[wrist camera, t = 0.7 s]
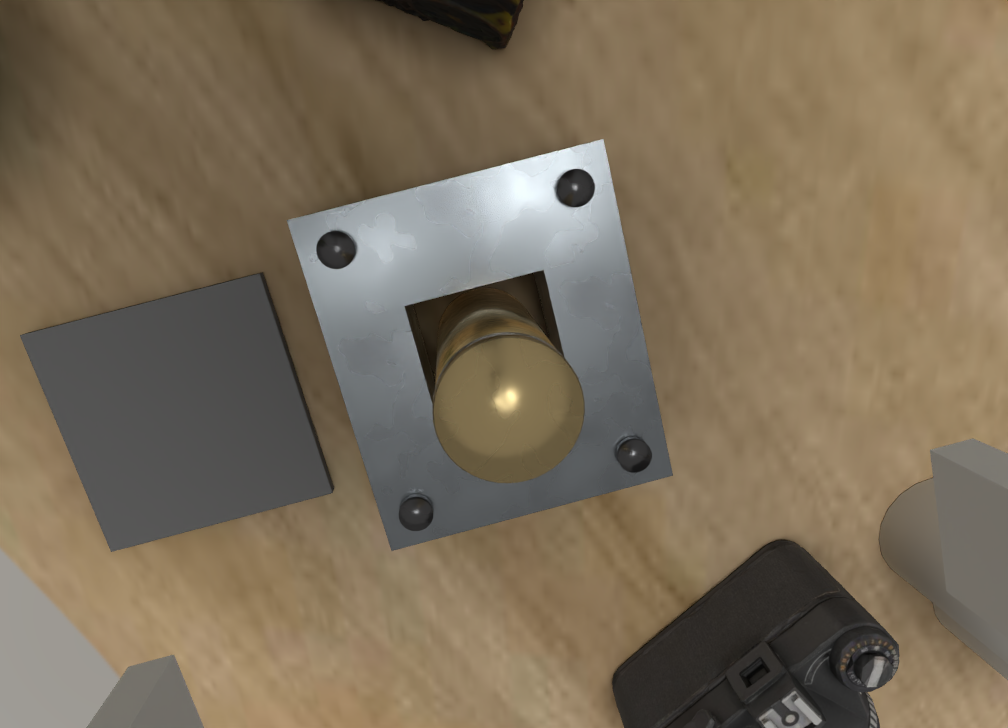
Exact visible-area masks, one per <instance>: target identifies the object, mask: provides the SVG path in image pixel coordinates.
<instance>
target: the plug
mask: <svg viewBox="0 0 1008 728" xmlns="http://www.w3.org/2000/svg"><path fill="white" fill-rule="evenodd" d="M432 413H433V424H434V428H435V432H436V435H437V438H438V440H439V442H440V444H441V446H442V448H443V450H444V451H445V452H446V454H447V455H448V457H449V458H450V459H451V460H452V461H453V462H454V463H455V464H456V465H458V466H459V467H460V468H461V469H462V470H464V471H466V472H467V473H469V474H471V475H473V476H475V477H477V478H479V479H483V480H486V481H490V482H496V483H518V482H523V481H528V480H531V479H534V478H537V477H539V476H541V475H543V474H545V473H547V472H548V471H550V470H551V469H553V468H554V467H556V466H557V465H558V464H559V463H560V462H561V461H562V460H563V459H564V458H565V457H566V456H567V455H568V454H569V452H570V451H571V450H572V448H573V447H574V445H575V443H576V441H577V440H578V437H579V435H580V432H581V430H582V426H583V421H584V414H585V401H584V395H583V390H582V387H581V384H580V381H579V379H578V377H577V375H576V373H575V372H574V370H573V368H572V367H571V365H570V364H569V363H568V362H567V360H566V359H565V358H564V357H563V356H562V354H561V353H560V352H558V351H557V350H556V348H555V347H554V346H553V344H552V343H551V342H550V340H549V339H548V338H547V336H546V335H545V334H544V332H543V331H542V330H541V329H540V327H539V326H538V325H537V323H536V322H535V321H534V319H533V318H532V317H531V315H530V314H529V313H528V311H527V310H526V309H525V308H524V306H523V305H522V304H521V303H520V302H519V301H518V300H517V299H516V298H514V297H513V296H512V295H510V294H508V293H506V292H504V291H501V290H497V289H492V288H480V289H475V290H471V291H468V292H466V293H464V294H462V295H460V296H459V297H457V298H456V299H455V300H454V301H453V302H452V303H451V304H450V305H449V306H448V307H447V309H446V310H445V312H444V313H443V315H442V317H441V320H440V323H439V328H438V342H437V362H436V381H435V391H434V395H433V411H432Z"/></svg>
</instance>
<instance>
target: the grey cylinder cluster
mask: <svg viewBox="0 0 1008 728" xmlns="http://www.w3.org/2000/svg"><path fill="white" fill-rule="evenodd" d="M879 543H880V548H881V553H882V556H883V558H884V559H885V561H886V562H887V564H888V566H889V567H890V568H891V569H892V570H894V571H895V572H896V573H897V574H898V575H900V576H901V577H902V578H903V579H905V580H906V581H907V582H908V583H909V584H911V585H912V586H913V587H914V588H916V589H917V590H918V591H919V592H920V593H922V594H923V595H924V596H925V597H927V598H928V599H929V600H930V601H931V602H933V607H934V611H935V614H936V616H937V618H938V619H939V621H940V622H941V624H942V625H943V626H944V627H946V628H947V629H948V630H949V631H950V632H952V633H953V634H954V635H955V636H956V637H957V638H959V639H960V640H961V641H962V642H963V643H964V644H966V645H967V646H968V647H969V648H970V649H972V650H973V651H974V652H975V653H976V654H977V655H979V656H980V657H981V658H982V659H983V660H985V661H986V662H987V663H988V664H989V665H990V666H992V667H993V668H994V669H995V670H996V671H997V672H999V673H1000V674H1001V675H1002V676H1003V677H1005V678H1006V679H1007V680H1008V638H1007V637H1005V636H1004V635H1003V634H1001V633H1000V632H999V631H997V630H996V629H995V628H994V627H992V626H991V625H990V624H988V623H987V622H986V621H984V620H983V619H982V618H980V617H979V616H978V615H977V614H975V613H974V612H973V611H971V610H970V609H969V608H967V607H966V606H965V605H964V604H962V603H961V602H960V601H958V600H957V599H956V598H954V597H953V596H952V595H951V594H949V593H948V592H947V591H946V582H945V574H944V565H943V557H942V548H941V539H940V531H939V522H938V514H937V505H936V496H935V488H934V479H933V478H931V479H929V480H926V481H923V482H920V483H917V484H915V485H914V486H912V487H911V488H909V489H908V490H906V491H905V492H903V493H902V494H900V496H899V497H898V498H897V499H896V500H895V501H894V503H893V504H892V505H891V506H890V507H889V509H888V511H887V513H886V515H885V517H884V519H883V521H882V523H881V529H880V536H879Z"/></svg>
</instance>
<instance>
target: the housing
mask: <svg viewBox="0 0 1008 728" xmlns="http://www.w3.org/2000/svg"><path fill="white" fill-rule="evenodd" d="M287 222H288V225H289V229H290V232H291V235H292V238H293V241H294V244H295V248H296V251H297V254H298V257H299V260H300V263H301V266H302V270H303V273H304V276H305V279H306V282H307V285H308V289H309V292H310V295H311V298H312V301H313V304H314V307H315V311H316V314H317V317H318V320H319V323H320V326H321V330H322V333H323V336H324V339H325V342H326V345H327V348H328V352H329V355H330V358H331V361H332V364H333V367H334V371H335V374H336V377H337V380H338V383H339V386H340V389H341V393H342V396H343V399H344V402H345V405H346V408H347V412H348V415H349V418H350V421H351V424H352V427H353V430H354V434H355V437H356V440H357V443H358V446H359V449H360V453H361V456H362V459H363V462H364V465H365V468H366V471H367V475H368V478H369V481H370V484H371V487H372V490H373V494H374V497H375V500H376V503H377V506H378V509H379V512H380V516H381V519H382V522H383V525H384V528H385V531H386V535H387V538H388V541H389V544H390V547H391V550H392V551H393V550H397V549H400V548H404V547H408V546H412V545H415V544H419V543H423V542H427V541H430V540H434V539H438V538H441V537H445V536H449V535H453V534H456V533H460V532H464V531H468V530H471V529H475V528H479V527H482V526H486V525H490V524H494V523H497V522H501V521H505V520H509V519H512V518H516V517H520V516H524V515H527V514H531V513H535V512H538V511H542V510H546V509H550V508H553V507H557V506H561V505H565V504H568V503H572V502H576V501H579V500H583V499H587V498H591V497H594V496H598V495H602V494H606V493H609V492H613V491H617V490H620V489H624V488H628V487H632V486H635V485H639V484H643V483H647V482H650V481H654V480H658V479H661V478H665V477H669V476H673V474H672V469H671V464H670V459H669V454H668V449H667V444H666V440H665V435H664V430H663V425H662V420H661V415H660V411H659V406H658V401H657V396H656V391H655V386H654V382H653V377H652V372H651V367H650V362H649V357H648V352H647V348H646V343H645V338H644V333H643V328H642V323H641V319H640V314H639V309H638V304H637V299H636V294H635V290H634V285H633V280H632V275H631V270H630V265H629V260H628V256H627V251H626V246H625V241H624V236H623V231H622V227H621V222H620V217H619V212H618V207H617V202H616V198H615V193H614V188H613V183H612V178H611V173H610V168H609V164H608V159H607V154H606V149H605V144H604V139H602V140H598V141H594V142H590V143H586V144H583V145H579V146H575V147H571V148H567V149H563V150H559V151H555V152H551V153H547V154H544V155H540V156H536V157H532V158H528V159H524V160H520V161H516V162H512V163H508V164H505V165H501V166H497V167H493V168H489V169H485V170H481V171H477V172H473V173H469V174H466V175H462V176H458V177H454V178H450V179H446V180H442V181H438V182H434V183H430V184H427V185H423V186H419V187H415V188H411V189H407V190H403V191H399V192H395V193H392V194H388V195H384V196H380V197H376V198H372V199H368V200H364V201H360V202H356V203H353V204H349V205H345V206H341V207H337V208H333V209H329V210H325V211H321V212H317V213H314V214H310V215H306V216H302V217H298V218H294V219H290V220H287ZM529 273H534V277H535V281H536V285H537V289H538V294H539V298H540V302H541V306H542V310H543V315H544V319H545V323H546V327H547V331H548V335H549V340H550V342H551V343H552V344H553V346H554V347H555V348H556V350H557V351H558V352H560V353H561V354H562V356H563V357H564V358H565V359H566V360H567V362H568V363H569V364H570V365H571V367H572V368H573V370H574V372H575V373H576V375H577V377H578V379H579V381H580V384H581V387H582V390H583V395H584V401H585V414H584V421H583V426H582V430H581V432H580V435H579V437H578V440H577V441H576V443H575V445H574V447H573V448H572V450H571V451H570V452H569V454H568V455H567V456H566V457H565V458H564V459H563V460H562V461H561V462H560V463H559V464H558V465H557V466H556V467H554V468H553V469H551V470H550V471H548V472H547V473H545V474H543V475H541V476H539V477H537V478H534V479H531V480H528V481H523V482H518V483H496V482H490V481H486V480H483V479H479V478H477V477H475V476H473V475H471V474H469V473H467V472H466V471H464V470H462V469H461V468H460V467H459V466H458V465H456V464H455V463H454V462H453V461H452V460H451V459H450V458H449V457H448V455H447V454H446V452H445V451H444V450H443V448H442V446H441V444H440V442H439V440H438V438H437V435H436V432H435V428H434V424H433V413H432V411H433V395H434V391H435V380H434V376H433V373H432V369H431V366H430V362H429V358H428V355H427V351H426V348H425V344H424V341H423V337H422V334H421V330H420V327H419V323H418V320H417V316H416V313H415V309H414V305H413V304H414V303H418V302H422V301H426V300H429V299H433V298H437V297H441V296H445V295H449V294H452V293H456V292H460V291H464V290H468V289H472V288H476V287H479V286H483V285H487V284H491V283H495V282H499V281H502V280H506V279H510V278H514V277H518V276H522V275H525V274H529Z"/></svg>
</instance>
